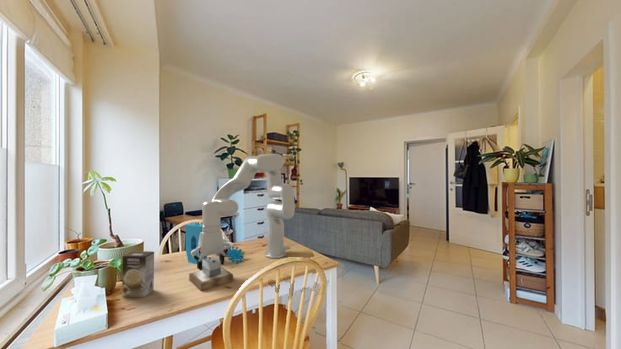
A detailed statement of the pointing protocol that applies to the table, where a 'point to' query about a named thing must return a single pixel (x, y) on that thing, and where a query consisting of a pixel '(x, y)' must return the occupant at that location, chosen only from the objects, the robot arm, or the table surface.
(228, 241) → the mechanical part
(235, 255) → the gear
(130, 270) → the coffee box
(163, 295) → the table surface
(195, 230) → the block
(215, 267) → the block
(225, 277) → the stand
